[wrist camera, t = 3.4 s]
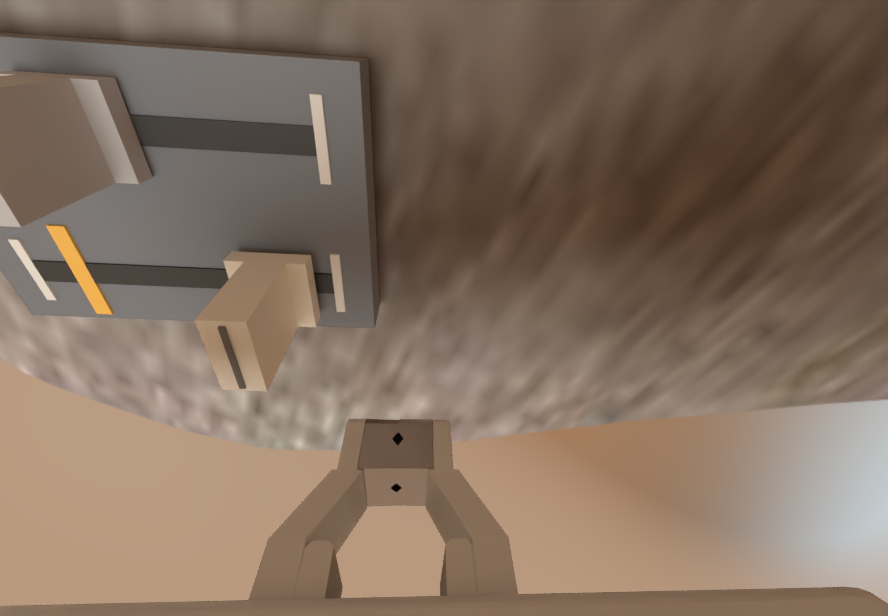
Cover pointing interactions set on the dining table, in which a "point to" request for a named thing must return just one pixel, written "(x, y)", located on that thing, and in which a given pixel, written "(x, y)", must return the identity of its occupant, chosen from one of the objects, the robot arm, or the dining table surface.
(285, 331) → the cap
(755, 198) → the dining table surface
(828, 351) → the dining table surface
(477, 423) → the dining table surface
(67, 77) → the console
